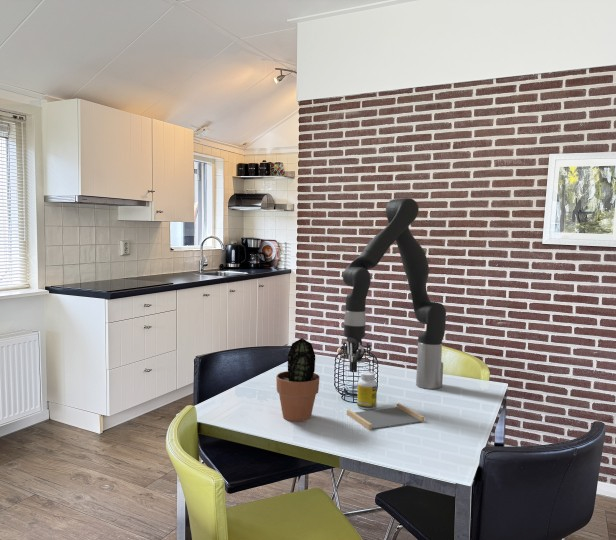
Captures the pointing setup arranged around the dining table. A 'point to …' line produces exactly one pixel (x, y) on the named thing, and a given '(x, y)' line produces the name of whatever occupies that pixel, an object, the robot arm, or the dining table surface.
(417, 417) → the grey flat rectangular board
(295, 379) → the potted plant
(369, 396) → the pill bottle
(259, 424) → the dining table surface
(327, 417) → the dining table surface
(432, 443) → the dining table surface
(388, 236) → the robot arm
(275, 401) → the dining table surface
